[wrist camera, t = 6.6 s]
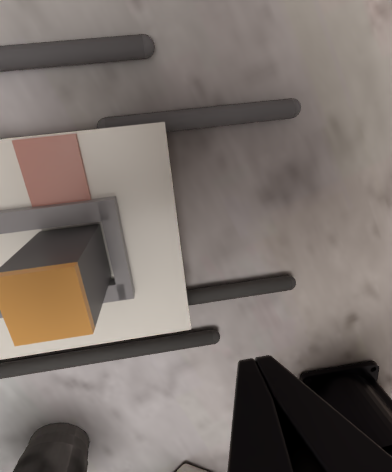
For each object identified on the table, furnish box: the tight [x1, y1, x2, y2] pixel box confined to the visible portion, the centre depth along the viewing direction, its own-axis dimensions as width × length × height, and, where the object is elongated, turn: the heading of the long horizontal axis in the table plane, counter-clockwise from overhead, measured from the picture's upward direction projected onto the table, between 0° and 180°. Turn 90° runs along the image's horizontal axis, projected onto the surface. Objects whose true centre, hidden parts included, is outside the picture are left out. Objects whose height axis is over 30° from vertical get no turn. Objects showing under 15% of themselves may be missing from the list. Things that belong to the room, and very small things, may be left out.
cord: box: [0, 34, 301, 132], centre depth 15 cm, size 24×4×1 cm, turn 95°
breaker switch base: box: [0, 122, 191, 360], centre depth 16 cm, size 19×12×3 cm, turn 95°
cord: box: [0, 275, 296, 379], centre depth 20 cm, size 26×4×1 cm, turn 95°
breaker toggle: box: [0, 224, 111, 346], centre depth 13 cm, size 3×3×5 cm
